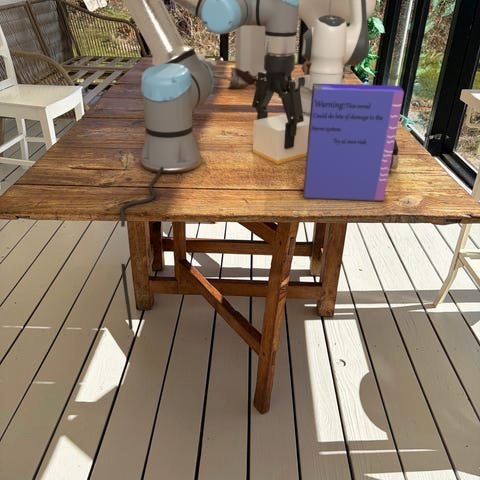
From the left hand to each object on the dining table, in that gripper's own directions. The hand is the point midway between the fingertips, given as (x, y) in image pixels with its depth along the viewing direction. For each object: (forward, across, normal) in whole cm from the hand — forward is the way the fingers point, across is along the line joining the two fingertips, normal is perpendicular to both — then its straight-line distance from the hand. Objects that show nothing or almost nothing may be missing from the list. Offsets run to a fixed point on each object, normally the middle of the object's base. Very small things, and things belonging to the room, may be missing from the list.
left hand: (275, 141), depth 127 cm
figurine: (+4, +63, -39) cm, 74 cm away
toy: (+4, +112, -39) cm, 119 cm away
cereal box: (+4, -28, +3) cm, 29 cm away
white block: (+4, +85, -59) cm, 104 cm away
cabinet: (+4, 0, -4) cm, 5 cm away
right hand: (+1, 0, -17) cm, 17 cm away
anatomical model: (+4, +61, -72) cm, 95 cm away
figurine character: (+4, -22, -17) cm, 28 cm away
